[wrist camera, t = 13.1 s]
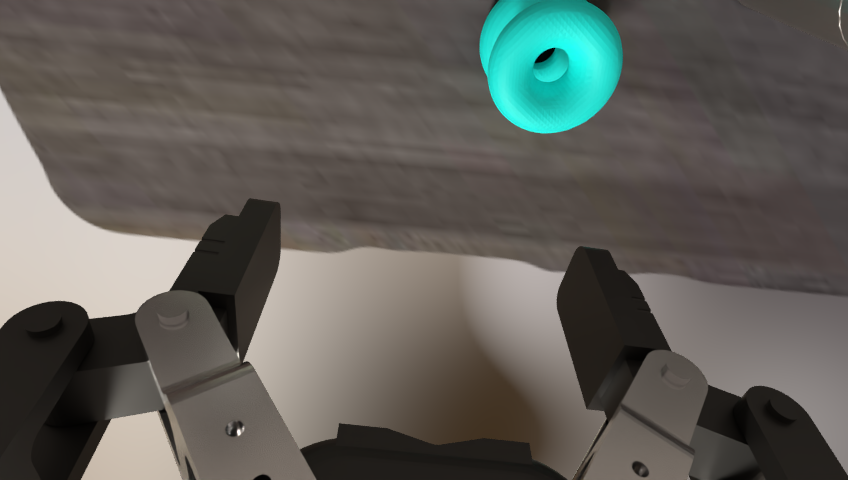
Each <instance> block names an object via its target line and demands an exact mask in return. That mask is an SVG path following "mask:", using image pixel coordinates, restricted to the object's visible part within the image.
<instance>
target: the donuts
mask: <svg viewBox="0 0 848 480" xmlns="http://www.w3.org/2000/svg"><path fill="white" fill-rule="evenodd" d="M550 48H555V50H554V52H553V54H552V55H551V56H550V57H549V58H548V59H547V60H545V61H543V62H540V63H534V62H535V60H536V59H537V57H538V56H539V55H540V54H541V53H542V52H544V51H546V50H547V49H550ZM480 57H481V62H482V65H483V68H484V71H485V73H486V75H487V77H488V85H489V89H490V93H491V96H492V98H493V101H494V103H495V105H496V106H497V108H498V109H499V111H500V112H501V113H502V114H503V115H504V116H505V117H506V118H507V119H508V120H509V121H510V122H512V123H513V124H515V125H517V126H518V127H520V128H523V129H525V130H528V131H532V132H537V133H555V132H561V131H565V130H568V129H571V128H573V127H576V126H578V125H580V124H582V123H584V122H585V121H587V120H588V119H590V118H591V117H592V116H594V115H595V114H596V113H597V112H598V111H599V110H600V109H601V108H602V107H603V106H604V105H605V103H606V102H607V101H608V100H609V98H610V97H611V95H612V93H613V92H614V90H615V88H616V85H617V83H618V81H619V78H620V74H621V70H622V63H623V51H622V44H621V40H620V36H619V33H618V31H617V29H616V27H615V25H614V24H613V22H612V21H611V19H610V18H609V17H608V16H607V15H606V14H605V13H604V12H603V11H602V10H600V9H599V8H598V7H596V6H595V5H593V4H591V3H589V2H587V1H586V0H499V1H498V2H497V3H496V4H495V6H494V7H493V8H492V10H491V11H490V13H489V15H488V16H487V18H486V21H485V23H484V26H483V29H482V32H481V37H480Z"/></svg>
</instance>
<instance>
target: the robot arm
mask: <svg viewBox="0 0 848 480" xmlns="http://www.w3.org/2000/svg"><path fill="white" fill-rule="evenodd" d="M737 1H738V2H739V3H741V4H742V5H743V6H746V7H748V8H750V9H752V10H754V11H757V12H759V13H761V14H763V15H766V16H768V17H770V18H772V19H774V20H777V21H779V22H781V23H784V24H786V25H788V26H791V27H793V28H795V29H798V30H800V31H802V32H805V33H807V34H809V35H812V36H814V37H816V38H819V39H821V40H823V41H826V42H828V43H830V44H833V45H835V46H837V47H840V48H842V49H844V50H847V51H848V0H737ZM280 251H281V211H280V204H279V203H278V202H272V201H265V200H258V199H251V198H250V199H248V201H247V203H246V204H245V206H244V208H243V210H242V212H241V213H240V215H239V216H233V215H224V216H223V217H221V218H220V219H218V220H217V221H215V222H214V223H212V224H211V225H210V226H209V227H208V229H207V231H206V232H205V234H204V236H203V237H202V241H200V242H199V244H198V245H197V247H196V249H195V252H193V253H192V255H191V257H190V258H189V260H188V261H187V263H186V265H185V266H184V268H183V270H182V271H181V273H180V275H179V276H178V278H177V279H176V281H175V283H174V284H173V286H172V288H171V289H170V291H169V292H165V293H161V294H158V295H156V296H154V297H152V298H150V299H149V300H147V301H146V302H145V303H143V304H142V305H141V307H140V308H139V309H138V311H137V312H136V313H133V314H128V315H121V316H112V317H103V318H94V319H89V317H88V315H87V312H86V311H85V309H84V308H82V307H81V306H80V305H78V304H75V303H72V302H66V301H54V302H46V303H41V304H37V305H34V306H31V307H29V308H26V309H24V310H22V311H20V312H19V313H17V314H16V315H14V316H13V317H12V318H10V319H9V320H8V321H7V322H6V323H5V324H4V325H3V326H2V328H1V329H0V480H81V478H82V476H83V474H84V472H85V470H86V468H87V466H88V464H89V462H90V460H91V458H92V456H93V454H94V452H95V450H96V448H97V446H98V444H99V442H100V440H101V438H102V436H103V434H104V432H105V430H106V428H107V426H108V424H109V423H110V420H111V419H112V418H119V417H125V416H130V415H136V414H142V413H147V412H153V411H157V412H158V415H159V418H160V420H161V423H162V426H163V428H164V431H165V434H166V436H167V439H168V442H169V444H170V447H171V450H172V453H173V455H174V458H175V461H176V464H177V466H178V469H179V471H180V474H181V477H182V480H567V479H566V478H565V477H563V476H562V475H561V474H559V473H558V472H557V471H555V470H553V469H552V468H550V467H548V466H547V465H545V464H543V463H540V462H538V461H536V460H533V459H532V456H531V451H530V445H529V443H524V442H514V441H504V440H495V439H485V438H483V439H477V440H470V441H463V442H456V443H449V444H443V445H434V444H430V443H427V442H424V441H422V440H419V439H416V438H413V437H410V436H407V435H405V434H402V433H399V432H396V431H393V430H390V429H388V428H378V427H369V426H359V425H350V424H340V423H339V428H338V434H337V438H335V439H329V440H325V441H321V442H318V443H314V444H312V445H309V446H307V447H304V448H302V449H299V448H298V446H297V444H296V442H295V441H294V439H293V437H292V435H291V433H290V432H289V430H288V428H287V426H286V425H285V423H284V421H283V419H282V418H281V416H280V414H279V412H278V410H277V408H276V407H275V405H274V403H273V401H272V400H271V398H270V396H269V394H268V392H267V390H266V389H265V387H264V385H263V383H262V382H261V380H260V378H259V376H258V375H257V373H256V371H255V369H254V368H253V366H252V365H251V364H250V363H249V362H244V363H243V360H244V358H245V355H246V353H247V350H248V347H249V345H250V342H251V339H252V337H253V334H254V331H255V329H256V326H257V323H258V321H259V318H260V316H261V313H262V310H263V308H264V305H265V302H266V299H267V297H268V294H269V292H270V289H271V286H272V284H273V281H274V278H275V276H276V273H277V270H278V266H279V260H280ZM557 310H558V314H559V317H560V320H561V324H562V327H563V331H564V334H565V337H566V341H567V344H568V348H569V351H570V354H571V358H572V361H573V364H574V368H575V371H576V374H577V378H578V381H579V385H580V388H581V391H582V395H583V398H584V402H585V405H586V409H591V410H600V411H604V412H605V415H606V420H605V422H604V423H603V425H602V426H601V428H600V430H599V432H598V433H597V435H596V437H595V439H594V441H593V442H592V445H591V446H590V448H589V450H588V452H587V453H586V455H585V457H584V459H583V461H582V463H581V464H580V466H579V468H578V470H577V472H576V474H575V475H574V477H573V479H572V480H687V477H688V475H689V477H690V480H848V475H847V474H846V472H845V471H844V469H843V467H842V466H841V464H840V463H839V461H838V460H837V458H836V457H835V455H834V453H833V452H832V450H831V449H830V447H829V446H828V444H827V443H826V441H825V439H824V438H823V436H822V435H821V433H820V432H819V430H818V428H817V427H816V425H815V424H814V422H813V421H812V419H811V418H810V416H809V415H808V414H807V412H806V411H805V410H804V409H803V408H802V407H801V406H800V405H799V404H798V403H797V402H795V401H794V400H793V399H792V398H790V397H789V396H787V395H785V394H784V393H782V392H780V391H778V390H775V389H773V388H769V387H765V386H754V387H752V388H750V389H749V390H748V391H747V392H746V393H745V394H744V395H743V397H742V398H741V397H739V396H736V395H734V394H731V393H728V392H725V391H723V390H720V389H718V388H715V387H712V386H710V385H708V383H707V380H706V378H705V376H704V375H703V373H702V372H701V371H700V370H699V368H698V367H697V366H696V365H694V364H693V363H692V362H691V361H690V360H688V359H686V358H685V357H683V356H681V355H679V354H677V353H675V352H672V351H671V349H670V347H669V345H668V343H667V341H666V339H665V337H664V335H663V333H662V331H661V329H660V327H659V326H658V324H657V321H656V319H655V317H654V315H653V314H652V313H650V311H651V310H650V308H649V306H648V304H647V302H646V301H645V298H644V296H643V294H642V292H641V290H640V288H639V286H638V284H637V283H636V282H635V281H634V280H633V279H632V278H631V277H630V276H629V275H628V274H627V273H626V272H625V271H623V270H618V268H617V266H616V264H615V262H614V260H613V258H612V256H611V254H610V252H609V251H608V250H604V249H597V248H590V247H583V246H580V247H578V248H577V249H576V251H575V253H574V255H573V257H572V259H571V262H570V264H569V266H568V269H567V271H566V273H565V275H564V278H563V280H562V282H561V285H560V287H559V290H558V294H557Z"/></svg>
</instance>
